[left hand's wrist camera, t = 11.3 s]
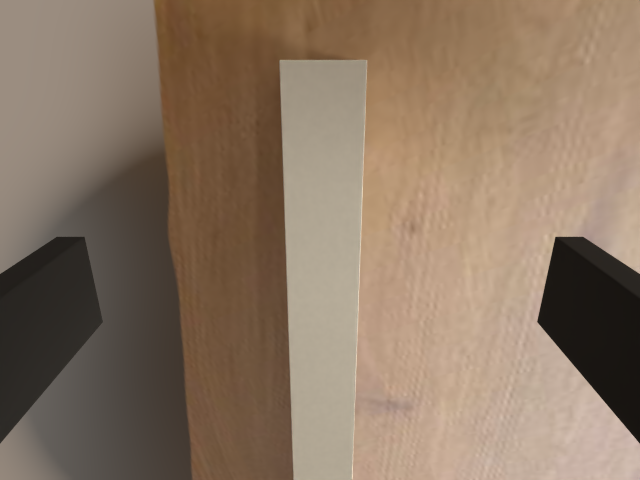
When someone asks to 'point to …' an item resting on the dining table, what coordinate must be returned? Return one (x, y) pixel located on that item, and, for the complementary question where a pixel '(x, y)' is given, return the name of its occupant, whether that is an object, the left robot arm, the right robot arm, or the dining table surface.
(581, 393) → the dining table surface
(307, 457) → the beam
